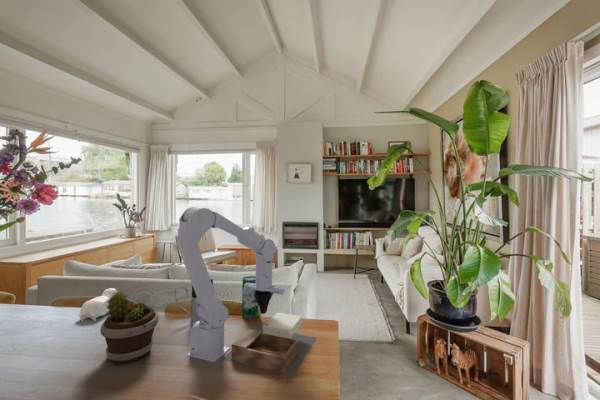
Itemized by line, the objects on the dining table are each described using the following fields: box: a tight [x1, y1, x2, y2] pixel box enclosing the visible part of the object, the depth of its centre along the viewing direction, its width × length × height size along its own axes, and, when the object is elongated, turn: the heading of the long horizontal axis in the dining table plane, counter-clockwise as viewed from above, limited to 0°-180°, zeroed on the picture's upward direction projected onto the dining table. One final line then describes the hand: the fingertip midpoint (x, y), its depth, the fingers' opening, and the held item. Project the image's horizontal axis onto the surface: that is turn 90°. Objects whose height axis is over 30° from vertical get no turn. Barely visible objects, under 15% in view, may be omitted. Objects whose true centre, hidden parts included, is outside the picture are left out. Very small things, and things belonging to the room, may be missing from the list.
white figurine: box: [78, 287, 118, 322], centre depth 110 cm, size 9×8×15 cm
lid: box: [262, 312, 303, 339], centre depth 90 cm, size 11×9×3 cm
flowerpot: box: [99, 288, 159, 364], centre depth 82 cm, size 14×15×20 cm
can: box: [241, 275, 260, 320], centre depth 110 cm, size 6×6×15 cm
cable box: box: [231, 328, 298, 373], centre depth 81 cm, size 16×10×5 cm, turn 70°
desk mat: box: [221, 326, 317, 378], centre depth 86 cm, size 22×22×1 cm
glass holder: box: [174, 278, 214, 326], centre depth 105 cm, size 9×14×15 cm, turn 103°
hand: (263, 312), depth 95 cm, fingers closed
